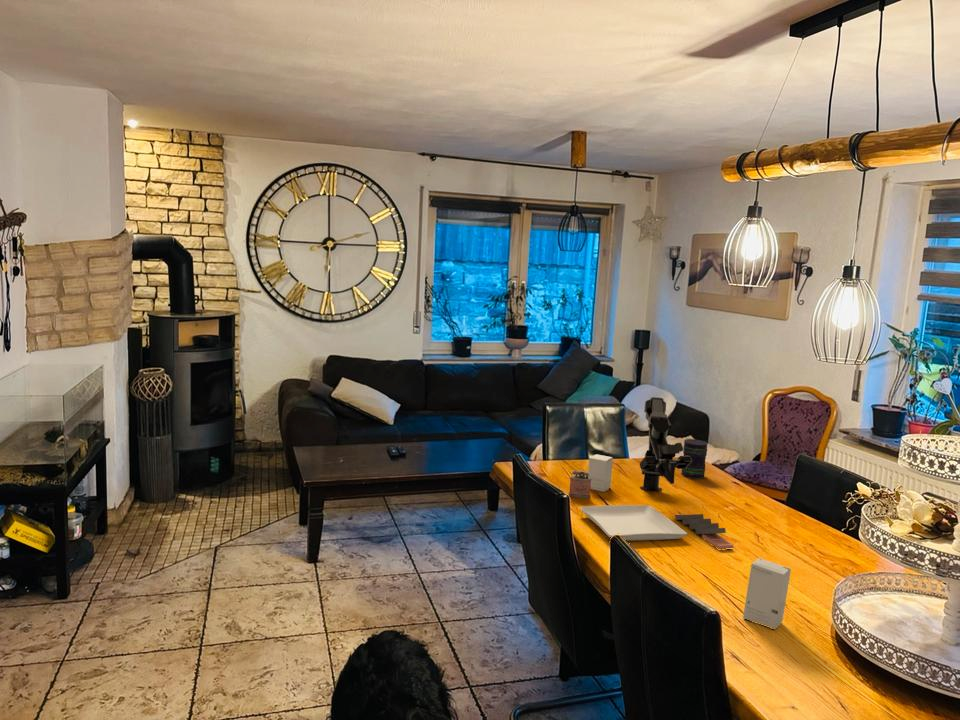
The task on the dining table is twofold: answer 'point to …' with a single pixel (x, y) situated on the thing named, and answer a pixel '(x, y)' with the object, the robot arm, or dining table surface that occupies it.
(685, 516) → the domino
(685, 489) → the dining table surface
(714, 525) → the domino
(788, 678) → the dining table surface
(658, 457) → the robot arm
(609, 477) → the supplement box
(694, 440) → the storage jar
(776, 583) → the skincare box
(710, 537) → the domino
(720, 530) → the domino
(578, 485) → the lighter
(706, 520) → the domino
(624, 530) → the square plate
